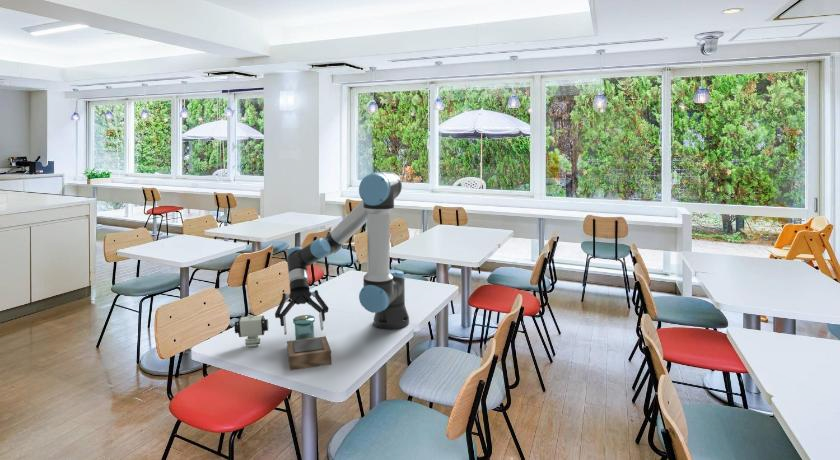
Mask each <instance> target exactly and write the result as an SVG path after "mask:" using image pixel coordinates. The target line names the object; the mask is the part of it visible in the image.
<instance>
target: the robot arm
mask: <svg viewBox="0 0 840 460" xmlns="http://www.w3.org/2000/svg"><path fill="white" fill-rule="evenodd" d="M402 184H403V183H402V179H401V178H400V177H399V176H398V175H397V173H395V172H394V171H390V170H385V171H378V172H371V173H369V174H367V175H365V176H364V177H363V178H362V180H361V181H360V182H359V186H358V195H359V197H360V199H361V201H360V202H359V203H358V204H357V205H356V206H355V207H354V208H353V209H352V210H351V211H349V213H348V214H347V215H346V216H345V217H343V219H342V220H341V221H340V222H339V223H338V224H336V226H335V227H334V228H333V229H332V230H331V231H330V232H329V233H328V234H327V235H326V236H325V237H323V238H322V237H319V238H317V239H315V240H313V241H312V242H310V243H309V244H307V245H306V246H304V247H301V246H294V247H289V249H287V252H286V253H287V254H286V262H287V269H288V271H287V272H288V283H289V294H288V293H287V294H286V293H285V292H283V293H282V294H281V295H282V298H281V300H280V303H279V304H278V306H277V309H276V311H275V312H274V317H275V318H276V319H279V321H280V327H283V331H284V336H286V335H287V333H288V332H287V331H288V330H287V320H286V318H287V317H286V315H287V314H288V313H289V312H290V311H291V309H292V308H293V307H294V306H295V305H305V304H307V305H309V306H311V307H312V308H314V310H315V311H317V312H318V313H319V314H318V319H319V325H320V331H324V322H325V321H326V316H325V314H326V313H328V312H329V309H330V308H329V306H328V305H327V304H326V303H325V301H324V300H323V298H322V297H321V296H320V293H319V291H318V290H317V289H315V290H314V291H311V290H310V283H309V275H308V267H309V266H311V265H313V264H314V263H316V262H318V261H320V260H322V259H323V258H326V257H328V256H330V255H333V254H336V253H337V252H339V251H340V250H341V249H342V247H343V245H344V244H345V243H346V242H348V240H349V239H350V238H351V237H353V235H354V234H355V233H357V232H358V230H359V229H361V227H363V226H364V225H365V224H366V223H367V225H366V226H367V232H366V233H367V238H366V239H367V244H366V245H367V246H366V247H367V249H366V251H367V253H366V255H367V256H366V257H367V259H366V260H367V263H366V267H367V269H366V270H367V271H366V273H365V274H364V275H363V277H362V278H363V280H362V281H363V287H362V288H361V289H360V290H359V292H358V293H359V294H358V301H359V303H360V305H361V307H363V308H364V309H365V311H368V312H370V313H374V315H373V325H374V326H375V327H377V328H379V329H384V330H385V329H386V330H396V329H402V328H405V327H406V326H408V325H409V324H410V315H409V313H408V310H407V306H406V304H405V301H406V300H405V299H406V298H405V297H406V296H405V294H406V293H405V292H406V291H405V290H406V288H405V280H406V278H405V272H404V271H402V270H400V269H399V270H398V269H390V249H391V247H390V245H391V244H390V243H391V242H390V241H391V240H390V234H391V233H390V232H391V227H390V226H391V225H390V224H391V218H390V217H391V212H392V211H393V210H394V208H395V199H396V198H397V197H399V195H400V194H401V192H402V190H403V189H402V188H403V185H402ZM311 296H312V297H313V298H315V300H316V302H315V301H314V299H313V298H311ZM289 299H290V302H288V304H287V305H286V307H284V306H285V303H286V301H287V300H289ZM283 308H284V309H283Z"/></svg>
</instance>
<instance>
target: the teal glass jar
mask: <svg viewBox="0 0 840 460" xmlns="http://www.w3.org/2000/svg"><path fill="white" fill-rule="evenodd" d="M315 320H316V317H315V316H314V315H311V314H303V315H302V314H301V315H299V316H295V317H294V318H293V319H292V322H293V324H294V335H295V338H294V339H295V340H300V339H308V338H315V328H314V326H315V325H314V322H315Z"/></svg>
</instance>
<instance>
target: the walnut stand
mask: <svg viewBox="0 0 840 460" xmlns="http://www.w3.org/2000/svg"><path fill="white" fill-rule="evenodd" d="M286 347H287V349H286V351H287V357H288V364H289V370H290V371H297V370H302V369H303V370H304V369H311V368H316V367H323V366H330V365H332V364H333V363H332V362H333V360H332V349H331V346H330V343H329V341H328V339H327V336H326V335H324V336H317V337H316V336H315V337H314V338H308V339H300V340H296V339H294V340H287V341H286Z"/></svg>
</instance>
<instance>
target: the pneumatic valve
mask: <svg viewBox="0 0 840 460" xmlns="http://www.w3.org/2000/svg"><path fill="white" fill-rule="evenodd" d="M233 328H234V333H235V334H237V335H238V337H239V338H244V337H245V340H244V343H245V346H246V347H247V348H257V347H258V346H259V345H260V344H261V337H260V336H264V335H265V332H267V331H269V319H266V318H265V315H252V314H251V315H250V314H249V316H240V317H239V319H238V321H235V322H234V326H233Z"/></svg>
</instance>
